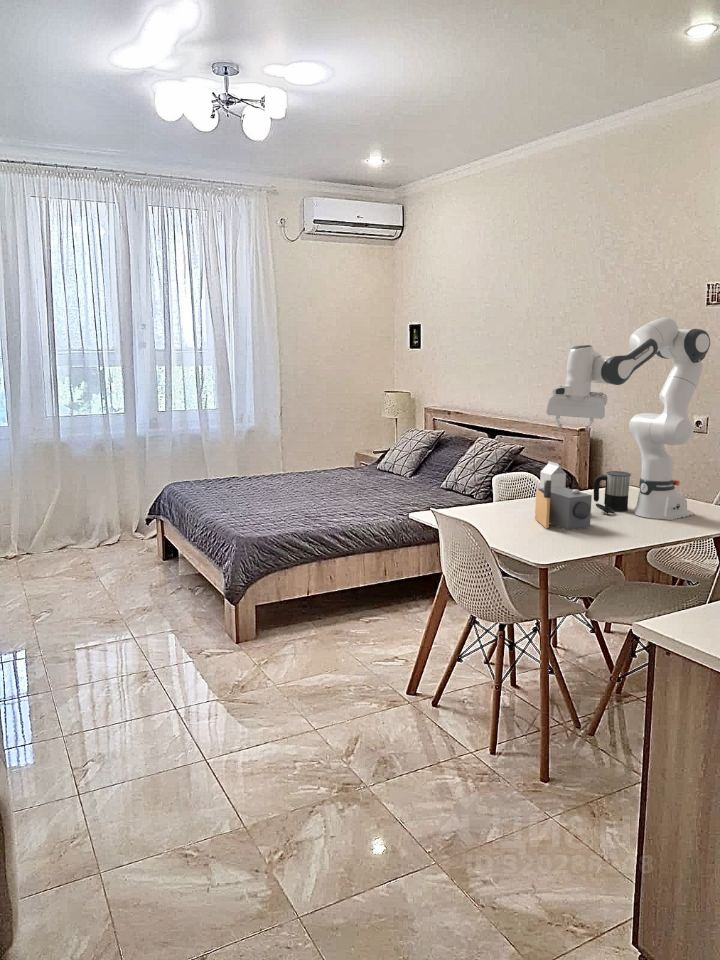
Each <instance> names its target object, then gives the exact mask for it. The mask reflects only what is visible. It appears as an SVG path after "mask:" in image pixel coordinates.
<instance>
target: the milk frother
mask: <svg viewBox="0 0 720 960" xmlns="http://www.w3.org/2000/svg"><path fill="white" fill-rule="evenodd" d="M631 476H632V473H630V472H628V471H621V470H620V471H619V470H609V471H606V474H600V475H597V476H596V477H595V479H594V481H593V501H594V502H597V503H595V506H596V508H598V509H600V510H601V511H602V512H604V513H606V514H607V515H609V514H612V515H613V514H615V513H616V512H627V511H629V507H628V506H629V490H630V479H631ZM602 481H605V488H604V501H603V504H604V505H603V504H600V503H598V502H599V500H600V482H602Z"/></svg>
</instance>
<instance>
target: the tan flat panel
mask: <svg viewBox="0 0 720 960" xmlns="http://www.w3.org/2000/svg"><path fill="white" fill-rule="evenodd" d="M550 497H551V480H545V481H544V493H542V492H541V491H539V490H538V489H536V491H535V510H534V511H535V512H534V514H535V515H534V519H535V520H536V521H537V522H539V524H541V526H543V527H544V528H546V529H549V527H550V524H549V511H550Z"/></svg>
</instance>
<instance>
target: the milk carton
mask: <svg viewBox="0 0 720 960" xmlns="http://www.w3.org/2000/svg"><path fill="white" fill-rule="evenodd" d="M566 473H567V472H565V471H564V470H563V469H562V467H561V466H560V463H557V462H553V461H549V460H548V461H547V465H545V466H544V467H543V469H542V470H540V479H539V482H540V483H539V488H544V481H545V480H551V487H556V486H562V487H565V488H566V483H567V482H566V481H567V479H566V478H567V474H566Z"/></svg>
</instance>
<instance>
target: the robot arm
mask: <svg viewBox="0 0 720 960" xmlns="http://www.w3.org/2000/svg"><path fill="white" fill-rule="evenodd" d="M628 343H629V348H630V351H629V352H628V353H626V354H624V355H606V356H605V355H602V354H600V353H598V352H597V351H595V349H594V347H593V346H592V345H590V344H583V345H582V344H581V345H575V346H573V347H571V348H570V351H569V353H568V356H567V361H566V363H567V365H566V379H565V383H564V386H562V385H560V386H559V387H558V386H557V387H554V388H552V390H551V394H552V395H551V396H549V399H548V401H547V406H546V411H545V414H546V415H547V416H553V417H554V416H555V420H556V422H557V429H559V430H562V429H563V425H564V424H563V423H561V422H560V419H561V417H571V418H572V417H573V418H584V419H585V418H586V419H589V423H588V425H585V429H584V431H585V432H590V430H591V429H590V428H591V426H592V425H593V423H594V422H595V421H594V420H595V419H596V420H597V419H598V420H602V419H604V418H605V415H606V405H607V404H608V396H607V395H606V394H605V393H604V392H597V391H591V390H592V389H591V387H592V383H594V384H606V385H607V384H610V385H613V386H614V385H615V386H620V385H623V384H625V383H626V382H627V381H628V380H629V379H630V378H631V377H632V375H633V373H634V372H635V371H636V370H638V369H639V368H640V367H641V366H643V365H644V364H645V363H647V362H648V361H650V360H651V359H652V358H653V357H655V355H656V356H657V357H659V358H661V359H669V360H671V359H672V360H673V366H672V368H671V370H670V372H669V373H668V375H667V378H666V379H665V382H664V384H663V386H662V387H661V391H660V393H659V395H658V396H659V397H658V398H659V401H660V403H661V404H662V405H663V411H662V412H661V413H652V412H643V413H642V412H641V413H637V414H634V416H632V418H631V419H630V421H629V424H628V431H629V433H630V435H631V436H632V437H633V439H634V440H635V441H636V443H637V446H638V448H639V451H640V456H641V473H640V474H641V475H640V478H639V485H638V486H639V491H638V496H637V501H636V505H635V508H634V512H633V514H634V515H636V516H639V517H642V518H647V519H655V520H656V519H657V520H658V519H659V520H667V521H670V520H671V521H672V520H673V519H674V520H677V518H678V519H682V518H681V517H683V518H686V516H687V517H690V516H689V515H691V516H694V515H693V514H694V512H693V511H692V510H690V509H688V500H687V498H686V497H685V496H684V495H682V494H681V493H680V491H678V490H676V487H675V486H680V480H678V479H674V480H673V470H674V469H673V467H674V460H673V457H672V456H671V455H670V454H669V453H668V452H667V450H666V449H665V446H664V445H666V446H667V445H668V446H682V445H685V444H687V443H688V442H689V441H691V438H692V436H693V433H694V428H693V424H692V422H691V421H690V420H689V416H688V411H689V406H690V403H691V401H692V398H693V395H694V393H695V391H696V389H697V387H698V385H699V382H700V378H701V376H702V373H703V367H704V366H703V363H702V361H703V360H704V359H705V358H706V356H707V354H708V352H709V350H710V346H711V339H710V335H709V333H708V331H705V330H704V329H700V328H679V327H678V325H677V322H676V321H675V320H674V319H673V318H671V317H668V316H667V317H666V316H663V317H659V318H656V319H654V320H651V321H650V322H649V321H648V323H647V322H646V324H644V325H642V326H640V327H638V328H637V329H636V330H634V331H633V333H632V334H631V335H630V337H629V342H628ZM674 520H673V521H674Z"/></svg>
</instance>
